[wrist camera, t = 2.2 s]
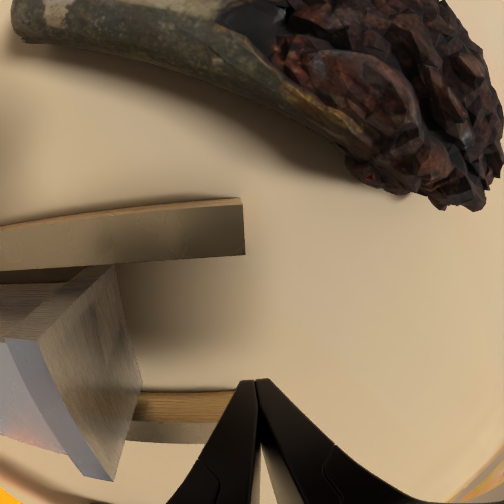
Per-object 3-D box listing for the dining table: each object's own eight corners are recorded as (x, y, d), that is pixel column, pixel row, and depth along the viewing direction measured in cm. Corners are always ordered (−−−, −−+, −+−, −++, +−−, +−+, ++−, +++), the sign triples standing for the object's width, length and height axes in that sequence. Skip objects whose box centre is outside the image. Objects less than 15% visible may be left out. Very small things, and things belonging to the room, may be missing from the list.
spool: (143, 382, 12) (113, 481, 7) (-2, 365, 12) (-50, 423, 6) (114, 263, 11) (36, 340, 5) (-35, 273, 10) (-104, 316, 5)
